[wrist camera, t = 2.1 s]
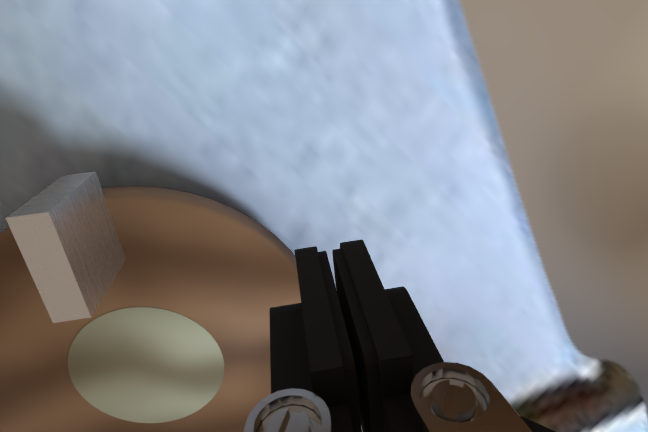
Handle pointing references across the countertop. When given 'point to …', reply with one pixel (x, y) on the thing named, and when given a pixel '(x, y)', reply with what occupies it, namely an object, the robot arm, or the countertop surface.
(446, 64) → the countertop surface
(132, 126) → the countertop surface
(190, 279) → the turntable
